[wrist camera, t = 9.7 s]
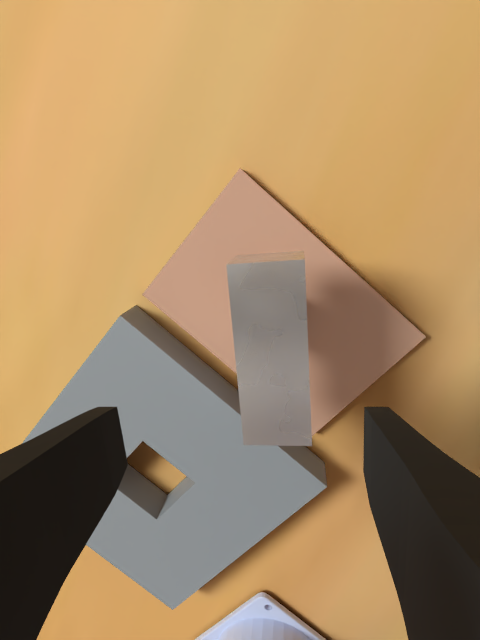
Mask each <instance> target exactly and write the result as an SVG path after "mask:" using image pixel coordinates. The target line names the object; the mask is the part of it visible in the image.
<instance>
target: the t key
mask: <svg viewBox="0 0 480 640" xmlns="http://www.w3.org/2000/svg"><path fill="white" fill-rule="evenodd" d="M226 266H227V277H228V287H229V298H230V308H231V318H232V329H233V339H234V350H235V360H236V371H237V381H238V391H239V402H240V412H241V423H242V433H243V443H244V445H269V446H312V431H311V406H310V380H309V354H308V329H307V303H306V277H305V257H304V251H291V252H277V253H262V254H248V255H237V256H236V257H235V258H234V259H232V260H231V261H230V262H229V263H228V264H226Z"/></svg>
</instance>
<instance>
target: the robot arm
mask: <svg viewBox="0 0 480 640" xmlns="http://www.w3.org/2000/svg"><path fill="white" fill-rule="evenodd" d="M127 466H128V462H127V456H126V451H125V446H124V441H123V435H122V430H121V425H120V419H119V414H118V409H117V407H96V408H94V409H91V410H89V411H86V412H84V413H82V414H80V415H78V416H76V417H74V418H72V419H70V420H68V421H66V422H64V423H62V424H60V425H58V426H56V427H54V428H52V429H50V430H48V431H47V432H45V433H43V434H41V435H39V436H37V437H35V438H33V439H31V440H29V441H27V442H25V443H23V444H21V445H19V446H16V447H14V448H12V449H10V450H8V451H6V452H4V453H2V454H0V640H36V639H37V637H38V635H39V632H40V630H41V628H42V626H43V624H44V622H45V620H46V618H47V615H48V613H49V611H50V609H51V607H52V605H53V603H54V601H55V599H56V597H57V595H58V593H59V591H60V589H61V587H62V585H63V583H64V581H65V579H66V577H67V576H68V574H69V572H70V570H71V568H72V567H73V565H74V563H75V562H76V560H77V558H78V557H79V555H80V553H81V552H82V550H83V548H84V547H85V545H86V543H87V542H88V540H89V538H90V537H91V535H92V533H93V532H94V530H95V528H96V527H97V525H98V524H99V522H100V520H101V518H102V517H103V515H104V513H105V512H106V510H107V508H108V507H109V505H110V503H111V501H112V500H113V498H114V496H115V494H116V492H117V490H118V487H119V485H120V483H121V481H122V478H123V476H124V473H125V471H126V468H127ZM363 471H364V476H365V482H366V488H367V493H368V498H369V503H370V507H371V511H372V514H373V517H374V520H375V524H376V527H377V530H378V533H379V537H380V540H381V543H382V546H383V549H384V552H385V556H386V559H387V562H388V565H389V568H390V571H391V575H392V578H393V581H394V584H395V587H396V590H397V594H398V598H399V601H400V605H401V609H402V612H403V617H404V621H405V626H406V630H407V635H408V639H409V640H480V478H479V477H478V476H476V475H475V474H473V473H472V472H470V471H469V470H467V469H466V468H465V467H463V466H462V465H460V464H459V463H457V462H456V461H455V460H453V459H452V458H450V457H449V456H448V455H446V454H445V453H444V452H442V451H441V450H440V449H438V448H437V447H436V446H435V445H433V444H432V443H431V442H429V441H428V440H427V439H426V438H424V437H423V436H422V435H421V434H420V433H418V432H417V431H416V430H415V429H414V428H412V427H411V426H410V425H409V424H408V423H407V422H405V421H404V420H403V419H402V418H401V417H400V416H398V415H397V414H396V413H395V412H394V411H392V410H391V409H390V408H389V407H365V411H364V470H363ZM195 640H326V639H325V638H324V637H322V636H321V635H320V634H318V633H317V632H316V631H315V630H313V629H312V628H311V627H309V626H308V625H307V624H306V623H304V622H303V621H302V620H300V619H299V618H298V617H297V616H295V615H294V614H293V613H291V612H290V611H289V610H288V609H286V608H285V607H284V606H282V605H281V604H280V603H279V602H277V601H276V600H275V599H273V598H272V597H271V596H270V595H268V594H267V593H264V592H260V593H258V594H256V595H255V596H253V597H252V598H251V599H249V600H248V601H247V602H245V603H244V604H243V605H241V606H240V607H238V608H237V609H236V610H234V611H233V612H232V613H230V614H229V615H228V616H226V617H225V618H223V619H222V620H221V621H219V622H218V623H217V624H215V625H214V626H213V627H211V628H210V629H208V630H207V631H206V632H204V633H203V634H202V635H200V636H199V637H198V638H196V639H195Z"/></svg>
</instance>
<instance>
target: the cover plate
mask: <svg viewBox="0 0 480 640" xmlns="http://www.w3.org/2000/svg"><path fill="white" fill-rule="evenodd" d="M96 407H117V409H118V414H119V419H120V425H121V430H122V435H123V441H124V446H125V451H126V456H127V457H128V456H129V455H130V454H131V453H132V452H133V451H134V450H135V449H136V448H137V447H138V445H139V444H140V443H141V442H142V441H143V442H145V443H146V444H147V445H148V446H150V447H151V448H152V449H153V450H155V451H156V452H157V453H158V454H160V455H161V456H162V457H163V458H165V459H166V460H167V461H168V462H170V463H171V464H172V465H173V466H175V467H176V468H177V469H179V470H180V471H181V472H182V473H184V474H185V475H186V476H187V477H186V478H185V479H184V480H183V481H181V482H180V483H179V484H178V485H177V486H176V487H175V488H174V489H173V490H172V491H171V492H170V493H169V494H168V495H167V494H166V493H164V492H163V491H162V490H160V489H159V488H158V487H157V486H155V485H154V484H153V483H152V482H150V481H149V480H148V479H146V478H145V477H144V476H143V475H141V474H140V473H139V472H138V471H136V470H135V469H134V468H132V467H131V466H130V465H129V464H128V466H127V468H126V471H125V473H124V476H123V478H122V481H121V483H120V485H119V487H118V490H117V492H116V494H115V496H114V498H113V500H112V501H111V503H110V505H109V507H108V508H107V510H106V512H105V513H104V515H103V517H102V518H101V520H100V522H99V524H98V525H97V527H96V528H95V530H94V532H93V533H92V535H91V537H90V538H89V540H88V542H87V543H86V545H87V546H88V547H90V548H91V549H92V550H94V551H95V552H96V553H98V554H99V555H100V556H102V557H103V558H104V559H106V560H107V561H108V562H110V563H111V564H112V565H114V566H115V567H116V568H118V569H119V570H120V571H122V572H123V573H124V574H126V575H127V576H128V577H130V578H131V579H132V580H134V581H135V582H136V583H138V584H139V585H140V586H142V587H143V588H144V589H146V590H147V591H148V592H150V593H151V594H152V595H154V596H155V597H156V598H158V599H159V600H160V601H162V602H163V603H164V604H166V605H167V606H168V607H170V608H171V609H172V610H173V609H174V608H176V607H177V606H178V605H179V604H181V603H182V602H183V601H185V600H186V599H187V598H188V597H190V596H191V595H192V594H193V593H195V592H196V591H197V590H198V589H200V588H201V587H202V586H203V585H205V584H206V583H207V582H208V581H210V580H211V579H212V578H213V577H215V576H216V575H217V574H218V573H220V572H221V571H222V570H223V569H225V568H226V567H227V566H228V565H230V564H231V563H232V562H233V561H235V560H236V559H237V558H239V557H240V556H241V555H242V554H244V553H245V552H246V551H247V550H249V549H250V548H251V547H252V546H254V545H255V544H256V543H257V542H259V541H260V540H261V539H262V538H264V537H265V536H266V535H267V534H269V533H270V532H271V531H272V530H274V529H275V528H276V527H277V526H279V525H280V524H281V523H282V522H284V521H285V520H286V519H287V518H289V517H290V516H291V515H293V514H294V513H295V512H296V511H298V510H299V509H300V508H301V507H303V506H304V505H305V504H306V503H308V502H309V501H310V500H311V499H313V498H314V497H315V496H316V495H318V494H319V493H320V492H321V491H323V490H324V489H325V488H326V487H327V481H326V472H325V463H324V462H323V461H322V460H321V459H320V458H319V457H317V456H316V455H315V454H314V453H313V452H311V451H310V450H309V449H308V448H307V447H305V446H269V445H244V443H243V433H242V423H241V412H240V402H239V391H238V390H237V389H236V388H235V387H233V386H232V385H231V384H230V383H229V382H228V381H226V380H225V379H224V378H223V377H222V376H220V375H219V374H218V373H217V372H216V371H214V370H213V369H212V368H211V367H210V366H208V365H207V364H206V363H205V362H204V361H202V360H201V359H200V358H199V357H198V356H196V355H195V354H194V353H193V352H192V351H190V350H189V349H188V348H187V347H186V346H184V345H183V344H182V343H181V342H180V341H178V340H177V339H176V338H175V337H174V336H172V335H171V334H170V333H169V332H168V331H166V330H165V329H164V328H163V327H162V326H160V325H159V324H158V323H157V322H156V321H154V320H153V319H152V318H151V317H150V316H148V315H147V314H146V313H145V312H144V311H142V310H141V309H140V308H139V307H138V306H137V305H136V306H134V307H133V308H131V309H130V310H128V311H127V312H125V313H123V314H122V315H120V317H119V318H118V319H117V320H116V322H115V323H114V324H113V326H112V327H111V328H110V330H109V331H108V332H107V333H106V335H105V336H104V337H103V339H102V340H101V341H100V343H99V344H98V345H97V346H96V348H95V349H94V350H93V352H92V353H91V354H90V356H89V357H88V358H87V360H86V361H85V362H84V363H83V365H82V366H81V367H80V369H79V370H78V371H77V373H76V374H75V375H74V376H73V378H72V379H71V380H70V382H69V383H68V384H67V386H66V387H65V388H64V389H63V391H62V392H61V393H60V395H59V396H58V397H57V399H56V400H55V401H54V403H53V404H52V405H51V406H50V408H49V409H48V410H47V412H46V413H45V414H44V416H43V417H42V418H41V419H40V421H39V422H38V423H37V425H36V426H35V427H34V429H33V430H32V431H31V432H30V434H29V435H28V436H27V438H26V439H25V440H24V442H23V443H25V442H27V441H29V440H31V439H33V438H35V437H37V436H39V435H41V434H43V433H45V432H47V431H48V430H50V429H52V428H54V427H56V426H58V425H60V424H62V423H64V422H66V421H68V420H70V419H72V418H74V417H76V416H78V415H80V414H82V413H84V412H86V411H89V410H91V409H94V408H96ZM23 443H22V444H23Z"/></svg>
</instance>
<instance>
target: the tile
mask: <svg viewBox="0 0 480 640" xmlns="http://www.w3.org/2000/svg"><path fill="white" fill-rule="evenodd" d="M291 251H304V257H305V277H306V303H307V329H308V354H309V380H310V406H311V431H312V436H313V435H314V434H315V433H316V432H317V431H319V430H320V429H321V428H322V427H323V426H324V425H325V424H327V423H328V422H329V421H330V420H331V419H332V418H333V417H335V416H336V415H337V414H338V413H339V412H340V411H342V410H343V409H344V408H345V407H346V406H347V405H348V404H350V403H351V402H352V401H353V400H354V399H355V398H356V397H358V396H359V395H360V394H361V393H362V392H363V391H365V390H366V389H367V388H368V387H369V386H370V385H371V384H373V383H374V382H375V381H376V380H377V379H378V378H379V377H381V376H382V375H383V374H384V373H385V372H386V371H388V370H389V369H390V368H391V367H392V366H393V365H394V364H396V363H397V362H398V361H399V360H400V359H401V358H402V357H404V356H405V355H406V354H407V353H408V352H409V351H411V350H412V349H413V348H414V347H415V346H416V345H417V344H419V343H420V342H421V341H422V340H423V339H424V338H425V337H426V336H425V335H424V334H423V333H422V332H421V331H420V330H418V329H417V328H416V327H415V326H414V325H413V324H412V323H411V322H410V321H409V320H407V319H406V318H405V317H404V316H403V315H402V314H401V313H400V312H399V311H397V310H396V309H395V308H394V307H393V306H392V305H391V304H390V303H389V302H388V301H386V300H385V299H384V298H383V297H382V296H381V295H380V294H379V293H378V292H377V291H375V290H374V289H373V288H372V287H371V286H370V285H369V284H368V283H367V282H365V281H364V280H363V279H362V278H361V277H360V276H359V275H358V274H357V273H356V272H354V271H353V270H352V269H351V268H350V267H349V266H348V265H347V264H346V263H345V262H343V261H342V260H341V259H340V258H339V257H338V256H337V255H336V254H335V253H333V252H332V251H331V250H330V249H329V248H328V247H327V246H326V245H325V244H324V243H322V242H321V241H320V240H319V239H318V238H317V237H316V236H315V235H314V234H312V233H311V232H310V231H309V230H308V229H307V228H306V227H305V226H304V225H303V224H301V223H300V222H299V221H298V220H297V219H296V218H295V217H294V216H293V215H292V214H290V213H289V212H288V211H287V210H286V209H285V208H284V207H283V206H282V205H280V204H279V203H278V202H277V201H276V200H275V199H274V198H273V197H272V196H271V195H269V194H268V193H267V192H266V191H265V190H264V189H263V188H262V187H261V186H259V185H258V184H257V183H256V182H255V181H254V180H253V179H252V178H251V177H250V176H248V175H247V174H246V173H245V172H244V171H243V170H242V169H239V170H238V172H237V173H236V174H235V175H234V177H233V178H232V179H231V181H230V182H229V183H228V184H227V186H226V187H225V188H224V190H223V191H222V192H221V193H220V195H219V196H218V197H217V199H216V200H215V201H214V203H213V204H212V205H211V206H210V208H209V209H208V210H207V212H206V213H205V214H204V215H203V217H202V218H201V219H200V221H199V222H198V223H197V224H196V226H195V227H194V228H193V230H192V231H191V232H190V234H189V235H188V236H187V237H186V239H185V240H184V241H183V243H182V244H181V245H180V246H179V248H178V249H177V250H176V252H175V253H174V254H173V255H172V257H171V258H170V259H169V261H168V262H167V263H166V265H165V266H164V267H163V268H162V270H161V271H160V272H159V274H158V275H157V276H156V277H155V279H154V280H153V281H152V283H151V284H150V285H149V286H148V288H147V289H146V290H145V292H144V293H143V294H142V295H143V296H145V297H146V298H147V299H148V300H149V301H151V302H152V303H153V304H154V305H155V306H157V307H158V308H159V309H160V310H161V311H162V312H164V313H165V314H166V315H167V316H168V317H170V318H171V319H172V320H173V321H174V322H176V323H177V324H178V325H179V326H180V327H182V328H183V329H184V330H185V331H186V332H187V333H189V334H190V335H191V336H192V337H193V338H195V339H196V340H197V341H198V342H199V343H201V344H202V345H203V346H204V347H205V348H207V349H208V350H209V351H210V352H211V353H212V354H214V355H215V356H216V357H217V358H218V359H220V360H221V361H222V362H223V363H224V364H226V365H227V366H228V367H229V368H230V369H232V370H233V371H234V372H235V373H236V374H237V371H236V360H235V350H234V339H233V329H232V318H231V308H230V298H229V287H228V277H227V266H226V264H228V263H229V262H230V261H231V260H232V259H234V258H235V257H236V256H237V255H248V254H262V253H277V252H291Z"/></svg>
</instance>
